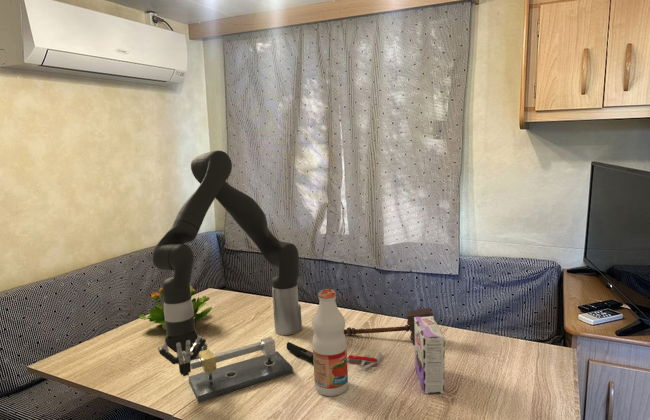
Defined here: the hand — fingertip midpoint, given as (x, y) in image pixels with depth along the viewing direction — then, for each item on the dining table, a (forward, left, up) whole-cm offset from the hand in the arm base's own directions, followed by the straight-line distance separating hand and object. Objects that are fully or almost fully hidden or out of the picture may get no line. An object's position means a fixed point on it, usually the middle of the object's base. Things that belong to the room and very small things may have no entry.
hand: (185, 374), depth 121 cm
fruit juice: (-36, +19, -6) cm, 41 cm away
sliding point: (-7, -2, -4) cm, 8 cm away
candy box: (-61, +31, -6) cm, 68 cm away
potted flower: (-9, -50, -6) cm, 51 cm away
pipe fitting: (-6, -23, -6) cm, 25 cm away
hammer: (-67, +3, -6) cm, 67 cm away
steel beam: (-14, -1, -4) cm, 15 cm away
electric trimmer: (-37, -1, -6) cm, 37 cm away
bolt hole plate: (-16, 0, -6) cm, 17 cm away
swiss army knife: (-50, +12, -6) cm, 52 cm away
